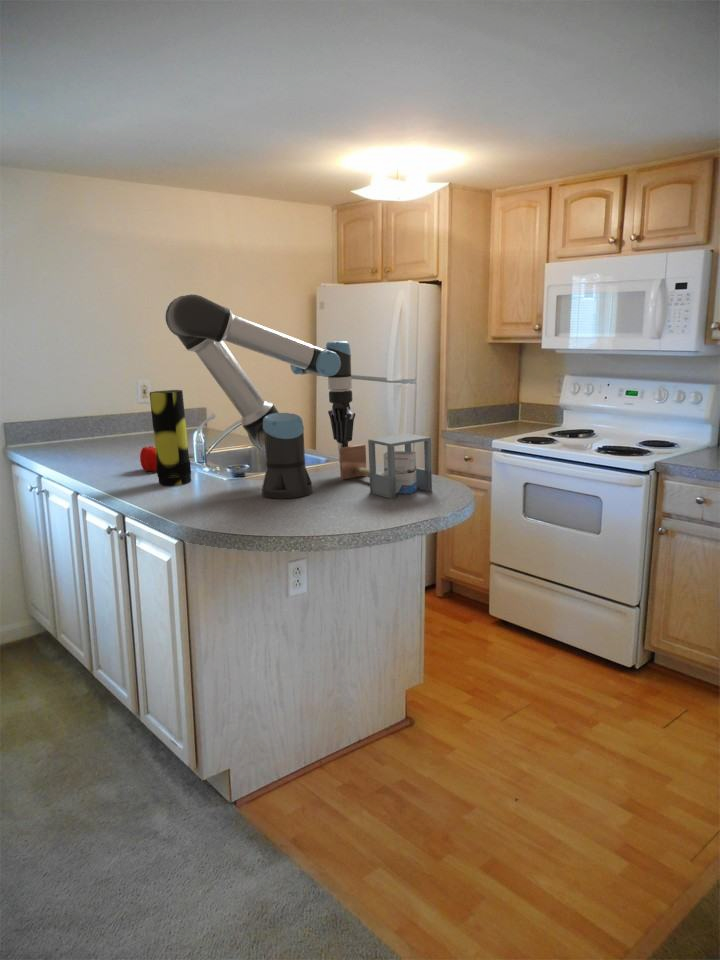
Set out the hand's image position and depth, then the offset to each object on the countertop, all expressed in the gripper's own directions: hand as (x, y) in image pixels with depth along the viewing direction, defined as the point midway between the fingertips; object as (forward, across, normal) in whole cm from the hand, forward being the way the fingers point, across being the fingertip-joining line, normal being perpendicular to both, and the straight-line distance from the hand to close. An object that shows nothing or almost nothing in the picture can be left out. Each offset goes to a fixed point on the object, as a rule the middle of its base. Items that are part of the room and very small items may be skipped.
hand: (343, 461), depth 232 cm
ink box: (+5, -31, 0) cm, 31 cm away
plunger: (+4, -16, 0) cm, 16 cm away
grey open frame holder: (+4, -31, 0) cm, 31 cm away
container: (+5, +30, +47) cm, 56 cm away
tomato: (+5, +55, +45) cm, 71 cm away
